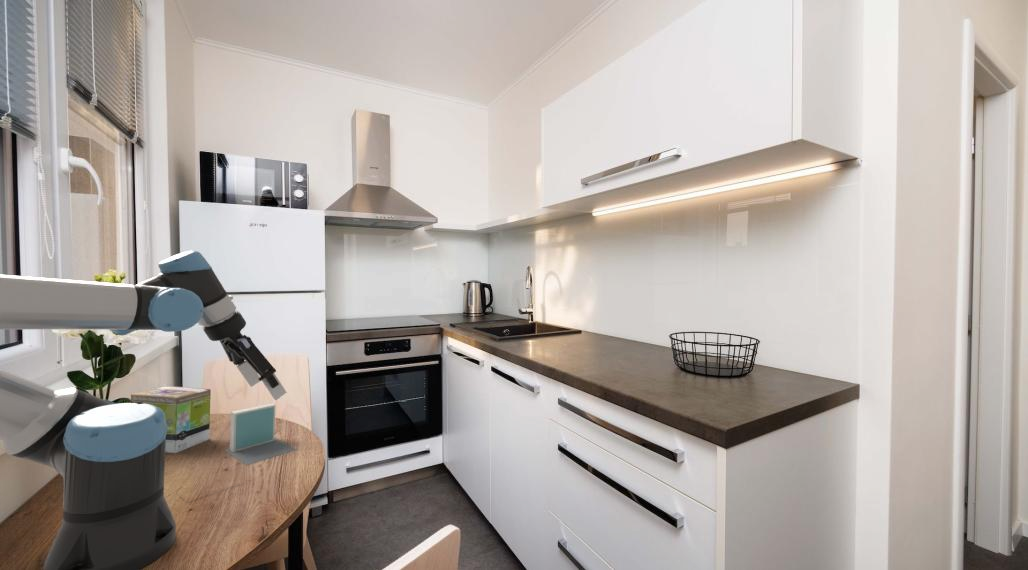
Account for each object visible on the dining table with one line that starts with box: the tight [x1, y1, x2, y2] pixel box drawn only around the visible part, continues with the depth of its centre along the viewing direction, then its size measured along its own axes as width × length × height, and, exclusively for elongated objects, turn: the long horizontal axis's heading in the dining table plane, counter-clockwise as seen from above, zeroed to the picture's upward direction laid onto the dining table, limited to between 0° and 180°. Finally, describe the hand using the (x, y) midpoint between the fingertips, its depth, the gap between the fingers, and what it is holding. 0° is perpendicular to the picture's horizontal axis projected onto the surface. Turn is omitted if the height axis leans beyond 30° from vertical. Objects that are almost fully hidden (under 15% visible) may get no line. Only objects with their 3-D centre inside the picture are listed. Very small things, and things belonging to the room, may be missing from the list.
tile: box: [229, 402, 276, 452], centre depth 108 cm, size 10×3×10 cm, turn 145°
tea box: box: [130, 385, 212, 454], centre depth 108 cm, size 15×10×15 cm
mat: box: [223, 437, 298, 466], centre depth 105 cm, size 12×14×1 cm
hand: (268, 389), depth 98 cm, fingers open, 13 cm apart
